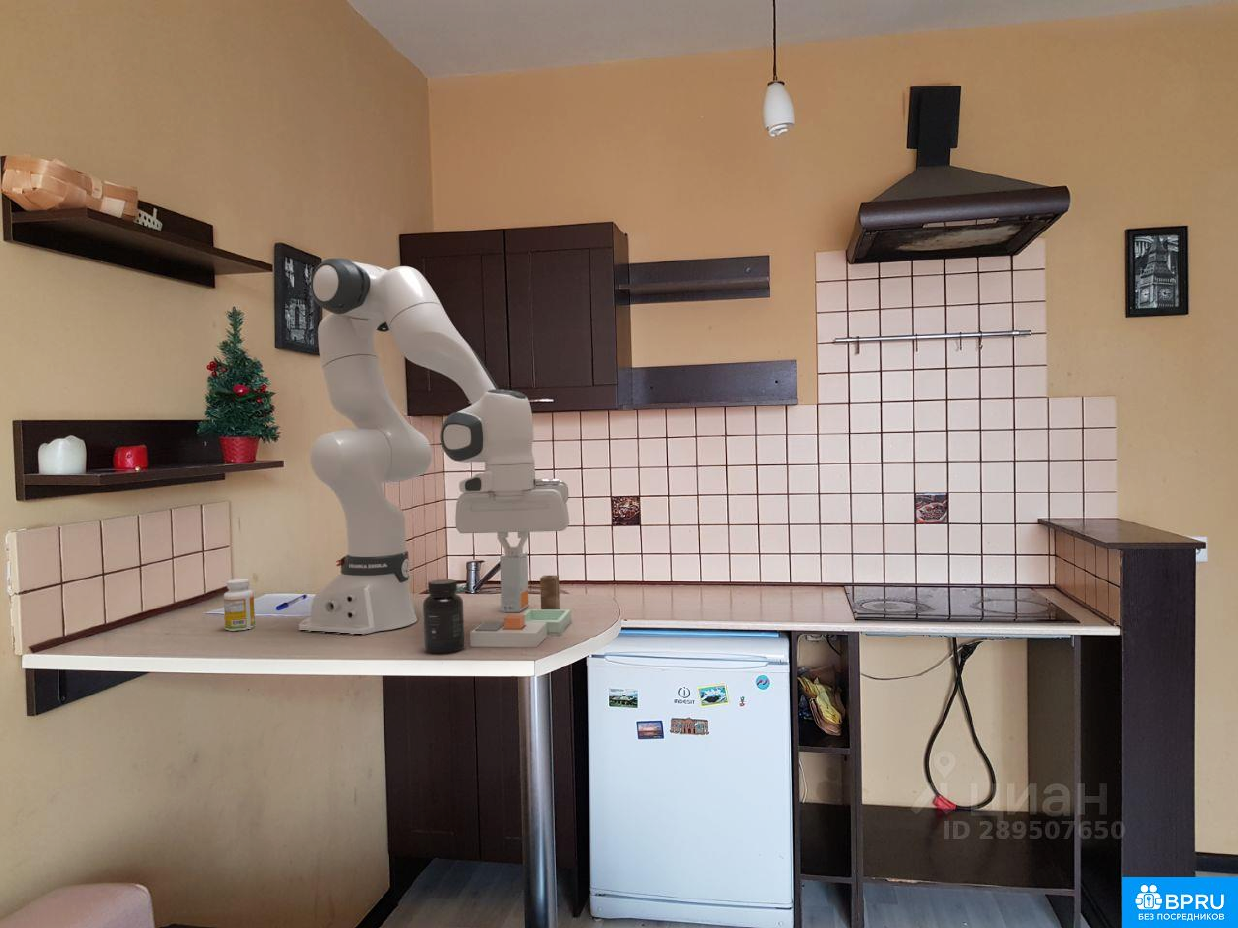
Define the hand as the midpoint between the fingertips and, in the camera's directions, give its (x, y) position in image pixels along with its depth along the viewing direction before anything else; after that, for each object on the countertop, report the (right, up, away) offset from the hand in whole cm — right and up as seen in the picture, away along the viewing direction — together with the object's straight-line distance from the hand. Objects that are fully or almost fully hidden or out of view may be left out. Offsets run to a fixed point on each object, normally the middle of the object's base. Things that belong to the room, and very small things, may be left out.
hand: (513, 557), depth 147 cm
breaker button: (0, -13, +1) cm, 13 cm away
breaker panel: (-1, -15, +1) cm, 15 cm away
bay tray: (+4, -15, +10) cm, 18 cm away
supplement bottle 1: (-56, -16, +16) cm, 61 cm away
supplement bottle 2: (-12, -16, -4) cm, 20 cm away
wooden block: (+5, -14, +20) cm, 25 cm away
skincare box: (-3, -14, +28) cm, 31 cm away
